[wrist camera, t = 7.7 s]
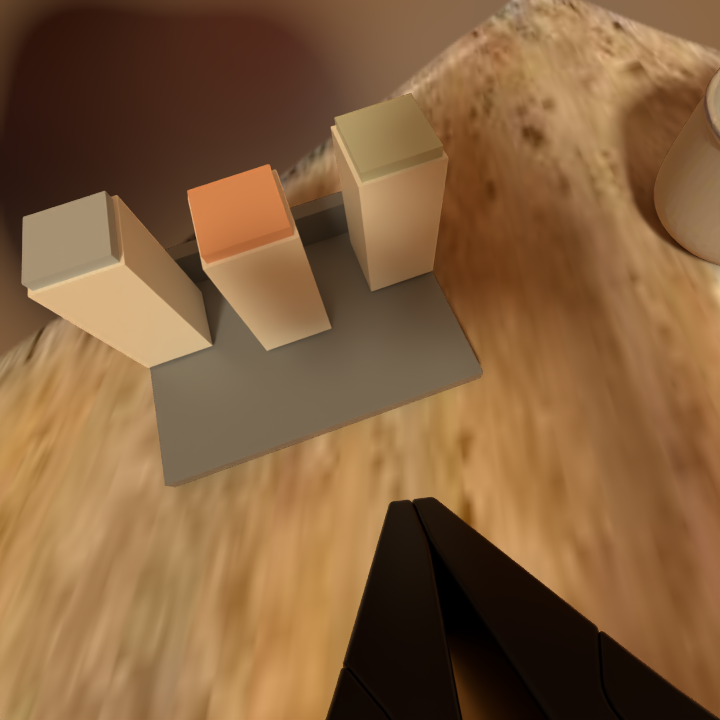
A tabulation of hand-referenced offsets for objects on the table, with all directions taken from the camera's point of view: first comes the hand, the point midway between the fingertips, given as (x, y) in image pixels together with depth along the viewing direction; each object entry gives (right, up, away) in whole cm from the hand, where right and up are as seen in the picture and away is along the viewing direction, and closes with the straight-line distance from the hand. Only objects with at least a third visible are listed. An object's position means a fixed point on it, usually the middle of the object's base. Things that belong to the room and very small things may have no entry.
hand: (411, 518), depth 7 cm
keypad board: (-5, +5, +17) cm, 18 cm away
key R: (-5, +6, +16) cm, 18 cm away
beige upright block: (+1, +10, +17) cm, 19 cm away
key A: (-12, +5, +16) cm, 21 cm away
